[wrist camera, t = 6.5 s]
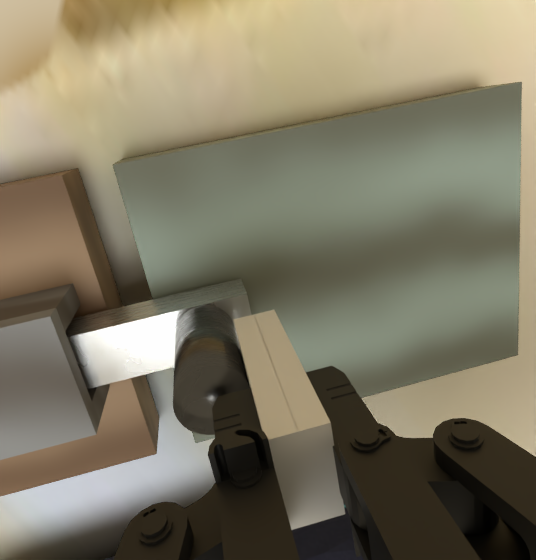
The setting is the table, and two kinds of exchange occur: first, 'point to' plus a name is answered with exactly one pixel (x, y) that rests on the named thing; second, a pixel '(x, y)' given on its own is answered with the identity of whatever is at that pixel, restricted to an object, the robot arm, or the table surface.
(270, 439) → the robot arm
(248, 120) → the table surface
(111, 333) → the grey piece
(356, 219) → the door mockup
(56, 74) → the table surface
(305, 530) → the portable speaker
